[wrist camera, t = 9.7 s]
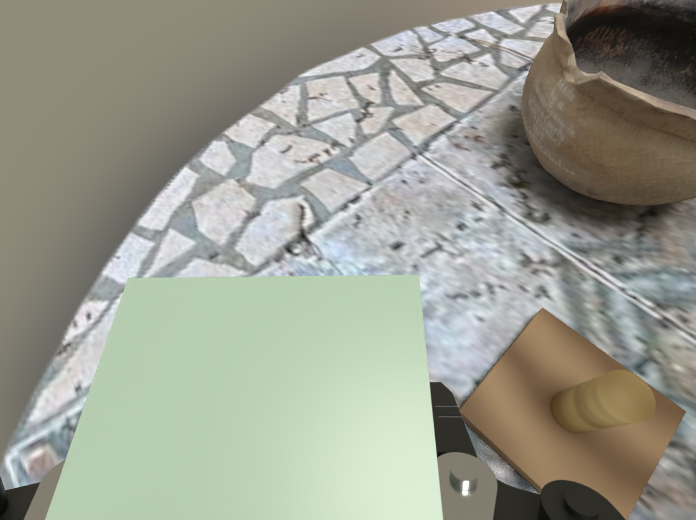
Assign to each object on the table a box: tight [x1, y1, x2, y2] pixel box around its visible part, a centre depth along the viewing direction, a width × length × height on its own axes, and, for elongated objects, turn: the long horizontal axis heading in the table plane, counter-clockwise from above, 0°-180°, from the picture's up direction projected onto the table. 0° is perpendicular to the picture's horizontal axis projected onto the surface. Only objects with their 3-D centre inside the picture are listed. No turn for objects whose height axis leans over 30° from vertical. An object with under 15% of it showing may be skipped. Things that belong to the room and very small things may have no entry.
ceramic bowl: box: [522, 0, 696, 206], centre depth 36 cm, size 22×22×15 cm
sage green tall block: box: [45, 275, 443, 520], centre depth 10 cm, size 6×6×10 cm
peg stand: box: [459, 308, 686, 520], centre depth 26 cm, size 12×12×8 cm
